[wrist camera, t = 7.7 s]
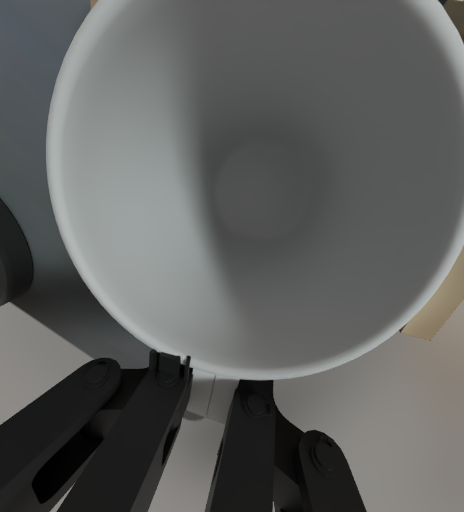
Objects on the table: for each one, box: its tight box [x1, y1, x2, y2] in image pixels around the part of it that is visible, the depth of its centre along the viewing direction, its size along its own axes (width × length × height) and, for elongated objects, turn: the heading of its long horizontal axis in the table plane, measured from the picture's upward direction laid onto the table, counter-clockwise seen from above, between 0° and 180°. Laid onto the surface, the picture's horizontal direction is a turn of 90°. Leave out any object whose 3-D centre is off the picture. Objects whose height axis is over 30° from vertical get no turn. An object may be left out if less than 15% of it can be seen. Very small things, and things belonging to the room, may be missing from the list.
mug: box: [46, 0, 464, 380], centre depth 9 cm, size 12×9×10 cm
